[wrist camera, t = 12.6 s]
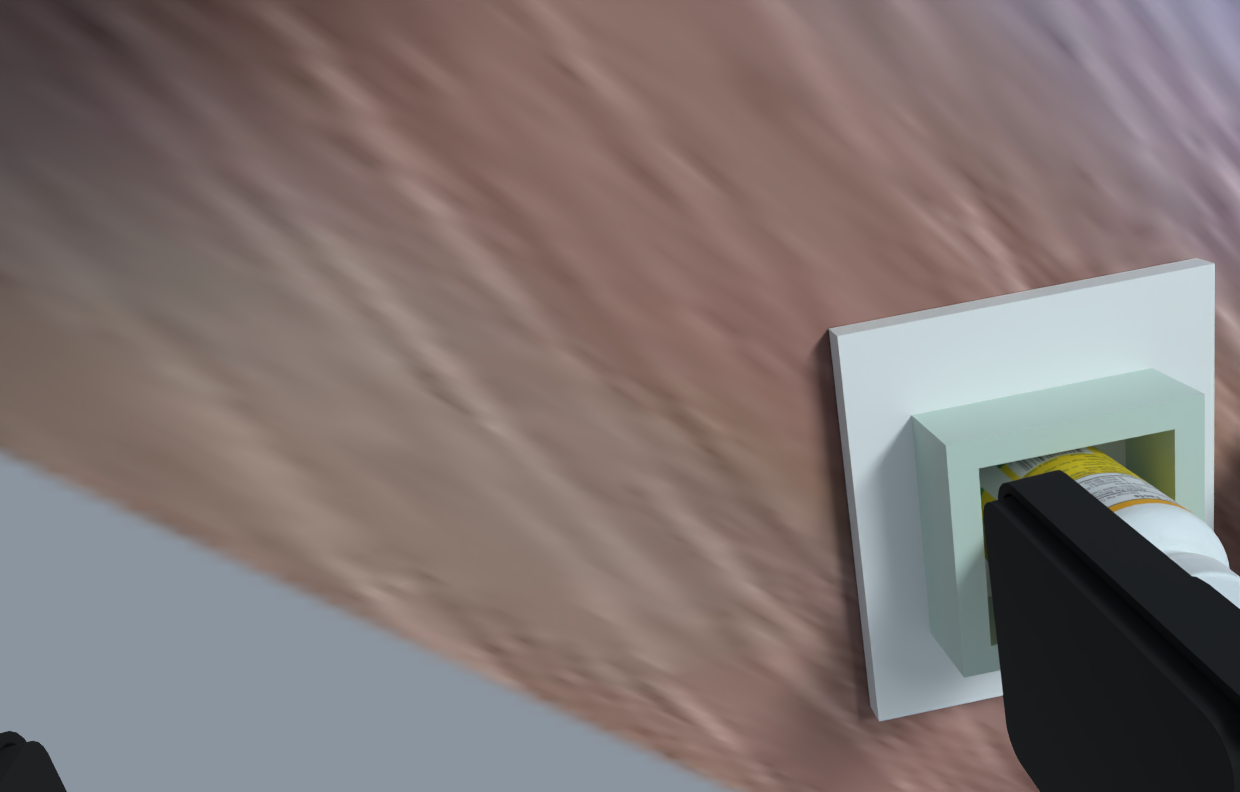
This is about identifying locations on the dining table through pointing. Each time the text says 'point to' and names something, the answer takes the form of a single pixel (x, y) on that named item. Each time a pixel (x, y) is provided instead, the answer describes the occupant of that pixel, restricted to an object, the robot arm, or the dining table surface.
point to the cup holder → (1004, 447)
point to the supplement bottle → (1129, 510)
